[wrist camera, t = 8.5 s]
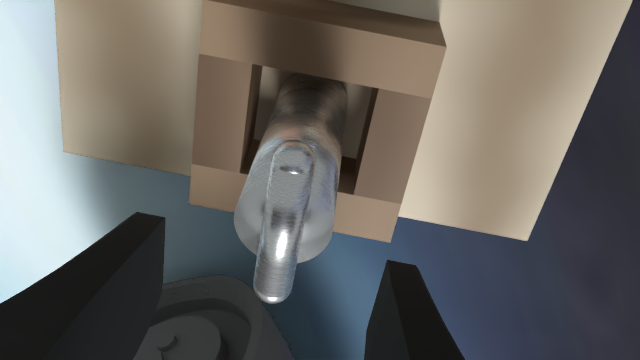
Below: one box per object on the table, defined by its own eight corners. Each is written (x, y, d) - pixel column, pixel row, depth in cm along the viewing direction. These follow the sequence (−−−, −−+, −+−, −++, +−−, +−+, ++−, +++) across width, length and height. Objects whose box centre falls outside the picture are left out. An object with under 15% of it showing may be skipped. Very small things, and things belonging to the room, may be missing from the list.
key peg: (360, 44, 20) (349, 163, 13) (335, 164, 22) (314, 320, 15) (288, 30, 20) (238, 142, 13) (271, 152, 22) (220, 302, 15)
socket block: (439, 22, 19) (446, 46, 17) (389, 203, 23) (390, 242, 20) (222, -21, 19) (202, -1, 17) (207, 168, 23) (188, 203, 20)
